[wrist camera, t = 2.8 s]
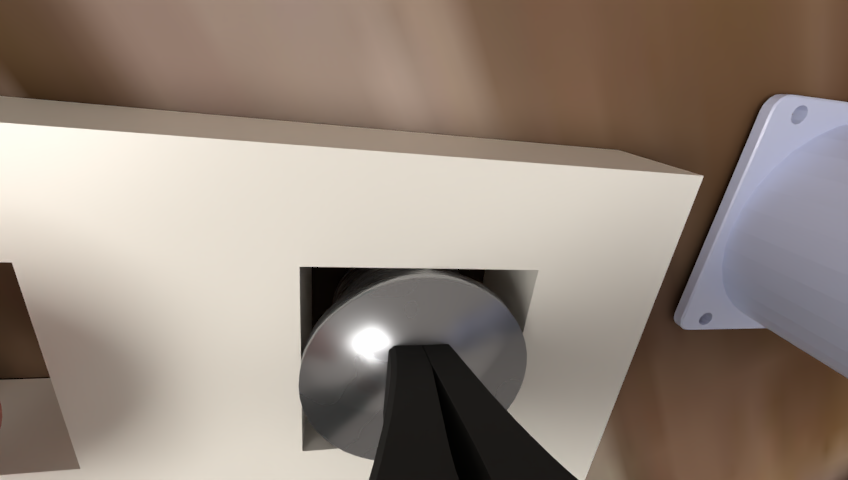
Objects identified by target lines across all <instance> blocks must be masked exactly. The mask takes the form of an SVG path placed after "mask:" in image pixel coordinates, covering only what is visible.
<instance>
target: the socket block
mask: <svg viewBox="0 0 848 480" xmlns="http://www.w3.org/2000/svg"><path fill="white" fill-rule="evenodd" d="M703 177H704V176H703V175H699V174H696V173H693V172H689V171H686V170H683V169H680V168H676V167H673V166H670V165H666V164H663V163H660V162H657V161H653V160H650V159H647V158H643V157H640V156H637V155H634V154H630V153H627V152H624V151H620V150H613V149H601V148H590V147H578V146H567V145H556V144H544V143H533V142H521V141H510V140H498V139H487V138H476V137H464V136H453V135H441V134H430V133H418V132H407V131H396V130H384V129H373V128H361V127H350V126H338V125H327V124H316V123H304V122H293V121H281V120H270V119H258V118H247V117H236V116H224V115H213V114H201V113H190V112H178V111H167V110H156V109H144V108H133V107H121V106H110V105H98V104H87V103H75V102H64V101H53V100H41V99H30V98H18V97H7V96H0V262H12V265H13V268H14V271H15V274H16V277H17V280H18V283H19V286H20V289H21V292H22V295H23V298H24V301H25V304H26V307H27V310H28V313H29V316H30V319H31V322H32V325H33V328H34V331H35V334H36V337H37V340H38V343H39V346H40V349H41V352H42V355H43V358H44V361H45V364H46V367H47V370H48V373H49V376H50V378H37V379H10V380H0V403H1V406H2V424H1V428H0V480H369V477H370V474H371V470H372V467H373V463H374V460H370V459H365V458H362V457H358V456H355V455H352V454H350V453H347V452H344V451H343V450H341V449H339V448H337V447H335V446H333V445H332V444H331V443H329V442H328V441H327V440H325V439H324V438H323V437H322V436H321V435H320V434H319V433H318V432H317V431H316V430H315V429H314V428H313V426H312V425H311V423H310V422H309V421H308V419H307V417H306V415H305V413H304V411H303V408H302V405H301V401H300V396H299V373H300V367H301V360H302V355H303V351H304V347H305V344H306V342H307V339H308V337H309V335H310V333H311V331H312V267H359V268H427V269H485V273H484V278H483V283H482V284H483V285H485V286H486V287H488V288H489V289H490V290H492V291H493V292H494V293H495V294H496V295H497V296H498V297H499V298H500V299H501V300H502V301H503V302H504V304H505V305H506V306H507V308H508V309H509V311H510V312H511V314H512V315H513V317H514V318H515V320H516V321H517V323H518V325H519V327H520V329H521V331H522V333H523V336H524V340H525V343H526V351H527V365H526V371H525V376H524V379H523V382H522V385H521V388H520V390H519V392H518V394H517V396H516V398H515V399H514V401H513V402H512V404H511V405H510V407H509V408H508V410H507V411H508V412H509V413H510V414H511V415H512V416H513V418H514V419H515V420H516V421H517V422H518V423H519V424H520V425H521V426H522V427H523V428H524V429H525V430H526V431H527V432H528V433H529V434H530V435H531V436H532V437H533V438H534V439H535V440H536V441H537V442H538V443H539V444H540V445H541V446H542V447H543V448H544V449H545V450H546V451H547V452H548V453H549V454H550V455H551V456H552V457H553V458H555V459H556V460H557V461H558V462H559V463H560V464H561V465H562V466H563V467H564V468H566V469H567V470H568V471H569V472H570V473H571V474H572V475H573V476H575V477H576V478H577V479H578V480H585V478H586V476H587V473H588V470H589V468H590V465H591V463H592V460H593V458H594V455H595V453H596V450H597V447H598V445H599V442H600V440H601V437H602V435H603V432H604V430H605V427H606V424H607V422H608V419H609V417H610V414H611V412H612V409H613V407H614V404H615V401H616V399H617V396H618V394H619V391H620V389H621V386H622V384H623V381H624V378H625V376H626V373H627V371H628V368H629V366H630V363H631V361H632V358H633V355H634V353H635V350H636V348H637V345H638V343H639V340H640V338H641V335H642V332H643V330H644V327H645V325H646V322H647V320H648V317H649V315H650V312H651V310H652V307H653V304H654V302H655V299H656V297H657V294H658V292H659V289H660V287H661V284H662V281H663V279H664V276H665V274H666V271H667V269H668V266H669V264H670V261H671V258H672V256H673V253H674V251H675V248H676V246H677V243H678V241H679V238H680V235H681V233H682V230H683V228H684V225H685V223H686V220H687V218H688V215H689V212H690V210H691V207H692V205H693V202H694V200H695V197H696V195H697V192H698V189H699V187H700V184H701V182H702V179H703Z"/></svg>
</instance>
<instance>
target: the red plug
mask: <svg viewBox="0 0 848 480" xmlns="http://www.w3.org/2000/svg"><path fill="white" fill-rule="evenodd" d="M1 424H2V406H1V403H0V428H1Z"/></svg>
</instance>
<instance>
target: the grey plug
mask: <svg viewBox="0 0 848 480" xmlns="http://www.w3.org/2000/svg"><path fill="white" fill-rule="evenodd" d="M434 344H449V345H450V346H451V347H452V348H453V349H454V350H455V352H456V353H457V354H458V355H459V356H460V357H461V359H462V360H463V361H464V362H465V363H466V365H467V366H468V367H469V368H470V369H471V371H472V372H473V373H474V374H475V375H476V376H477V378H478V379H479V380H480V381H481V382H482V383H483V385H484V386H485V387H486V388H487V389H488V390H489V391H490V392H491V394H492V395H493V396H494V397H495V398H496V399H497V400H498V401H499V402H500V403H501V405H502V406H503V407H504V408H505V409H506V410H508V408H509V407H510V405H511V404H512V402H513V401H514V399H515V398H516V396H517V394H518V392H519V390H520V388H521V385H522V382H523V379H524V376H525V371H526V365H527V351H526V343H525V340H524V336H523V333H522V331H521V329H520V327H519V325H518V323H517V321H516V320H515V318H514V317H513V315H512V314H511V312H510V311H509V309H508V308H507V306H506V305H505V304H504V302H503V301H502V300H501V299H500V298H499V297H498V296H497V295H496V294H495V293H494V292H493V291H492V290H490V289H489V288H488V287H486V286H485V285H483V284H482V283H480V282H478V281H476V280H474V279H472V278H470V277H467V276H464V275H461V274H460V273H459V271H458V270H457V269H427V268H359V267H350V268H349V269H348V270H347V271H346V273H345V274H344V275H343V276H342V278H341V280H340V281H339V283H338V285H337V288H336V290H335V293H334V297H333V305H332V306H331V307H330V308H329V309H327V310H326V312H325V313H324V314H323V315H322V316H321V318H320V319H319V320H318V321H317V323H316V325H315V326H314V328H313V329H312V331H311V333H310V335H309V337H308V339H307V342H306V344H305V347H304V351H303V355H302V360H301V367H300V373H299V396H300V401H301V405H302V408H303V411H304V413H305V415H306V417H307V419H308V421H309V422H310V423H311V425H312V426H313V428H314V429H315V430H316V431H317V432H318V433H319V434H320V435H321V436H322V437H323V438H324V439H325V440H327V441H328V442H329V443H331V444H332V445H333V446H335V447H337V448H339V449H341V450H343V451H344V452H347V453H350V454H352V455H355V456H358V457H362V458H365V459H370V460H374V459H375V455H376V451H377V447H378V443H379V439H380V435H381V431H382V427H383V408H384V397H385V386H386V375H387V363H388V352H389V349H391V348H392V347H393V346H398V345H434Z"/></svg>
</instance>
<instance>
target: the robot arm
mask: <svg viewBox="0 0 848 480" xmlns="http://www.w3.org/2000/svg"><path fill="white" fill-rule="evenodd" d="M792 113H793V114H792ZM674 321H675V323H677V324H678V325H679V326H680V327H682V328H683V329H686V330H705V329H752V328H767V329H769V330H771V331H772V332H774V333H775V334H777V335H779V336H780V337H782V338H783V339H785V340H787V341H788V342H790V343H791V344H793V345H795V346H796V347H798V348H800V349H801V350H803V351H804V352H806V353H808V354H809V355H811V356H812V357H814V358H816V359H817V360H819V361H820V362H822V363H824V364H825V365H827V366H829V367H830V368H832V369H833V370H835V371H837V372H838V373H840V374H841V375H843V376H845V377H846V378H848V102H843V101H836V100H829V99H821V98H814V97H806V96H799V95H791V94H777V95H774V96H772V97H770V98H769V99H768V100H767V101H766V102H765V103H764V104H763V106H762V107H761V109H760V111H759V113H758V116H757V118H756V121H755V123H754V125H753V128H752V130H751V133H750V135H749V137H748V140H747V142H746V144H745V147H744V149H743V152H742V154H741V156H740V159H739V161H738V163H737V166H736V168H735V171H734V173H733V175H732V178H731V180H730V183H729V185H728V187H727V190H726V192H725V194H724V197H723V199H722V202H721V204H720V206H719V209H718V211H717V213H716V216H715V218H714V221H713V223H712V225H711V228H710V230H709V233H708V235H707V237H706V240H705V242H704V244H703V247H702V249H701V252H700V254H699V256H698V259H697V261H696V263H695V266H694V268H693V271H692V273H691V275H690V278H689V280H688V282H687V285H686V287H685V290H684V292H683V294H682V297H681V299H680V302H679V304H678V306H677V309H676V311H675V314H674ZM369 480H578V479H577V478H576V477H575V476H573V475H572V474H571V473H570V472H569V471H568V470H567V469H566V468H564V467H563V466H562V465H561V464H560V463H559V462H558V461H557V460H556V459H555V458H553V457H552V456H551V455H550V454H549V453H548V452H547V451H546V450H545V449H544V448H543V447H542V446H541V445H540V444H539V443H538V442H537V441H536V440H535V439H534V438H533V437H532V436H531V435H530V434H529V433H528V432H527V431H526V430H525V429H524V428H523V427H522V426H521V425H520V424H519V423H518V422H517V421H516V420H515V419H514V418H513V416H512V415H511V414H510V413H509V412H508V411H507V410H506V409H505V408H504V407H503V406H502V405H501V403H500V402H499V401H498V400H497V399H496V398H495V397H494V396H493V395H492V394H491V392H490V391H489V390H488V389H487V388H486V387H485V386H484V385H483V383H482V382H481V381H480V380H479V379H478V378H477V376H476V375H475V374H474V373H473V372H472V371H471V369H470V368H469V367H468V366H467V365H466V363H465V362H464V361H463V360H462V359H461V357H460V356H459V355H458V354H457V353H456V352H455V350H454V349H453V348H452V347H451V346H450V345H449V344H434V345H398V346H393V347H392V348H391V349H389V352H388V363H387V375H386V386H385V397H384V408H383V427H382V431H381V435H380V439H379V443H378V447H377V451H376V455H375V459H374V463H373V467H372V470H371V474H370V477H369Z"/></svg>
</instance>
